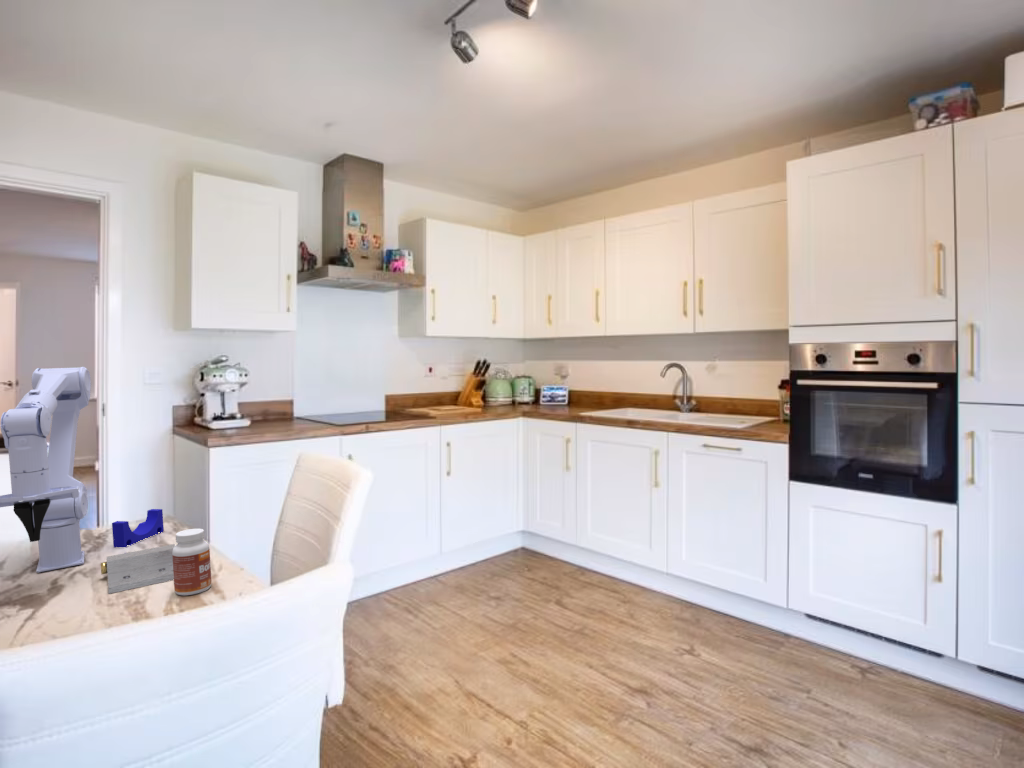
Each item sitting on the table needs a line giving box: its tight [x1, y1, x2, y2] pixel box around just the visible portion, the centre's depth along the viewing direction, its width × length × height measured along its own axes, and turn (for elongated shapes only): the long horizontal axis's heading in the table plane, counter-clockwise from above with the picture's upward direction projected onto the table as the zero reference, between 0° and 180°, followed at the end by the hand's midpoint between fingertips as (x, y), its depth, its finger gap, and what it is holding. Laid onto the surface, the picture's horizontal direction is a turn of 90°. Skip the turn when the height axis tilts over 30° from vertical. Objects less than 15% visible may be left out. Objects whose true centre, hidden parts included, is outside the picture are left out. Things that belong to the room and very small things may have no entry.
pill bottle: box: [172, 528, 212, 596], centre depth 110 cm, size 6×6×11 cm
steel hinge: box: [105, 543, 176, 594], centre depth 121 cm, size 12×20×4 cm, turn 35°
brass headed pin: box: [100, 561, 108, 575], centre depth 120 cm, size 13×2×2 cm, turn 125°
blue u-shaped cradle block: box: [111, 508, 165, 548], centre depth 142 cm, size 12×4×6 cm, turn 170°
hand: (35, 540), depth 113 cm, fingers closed
